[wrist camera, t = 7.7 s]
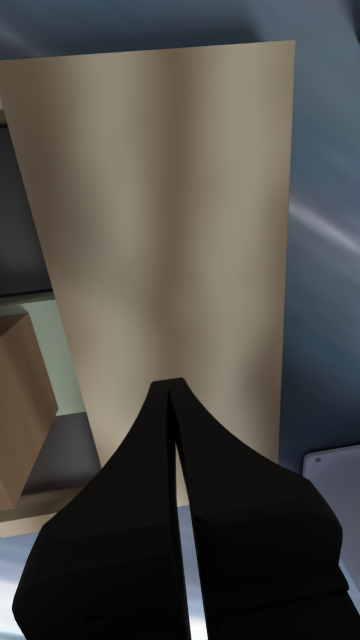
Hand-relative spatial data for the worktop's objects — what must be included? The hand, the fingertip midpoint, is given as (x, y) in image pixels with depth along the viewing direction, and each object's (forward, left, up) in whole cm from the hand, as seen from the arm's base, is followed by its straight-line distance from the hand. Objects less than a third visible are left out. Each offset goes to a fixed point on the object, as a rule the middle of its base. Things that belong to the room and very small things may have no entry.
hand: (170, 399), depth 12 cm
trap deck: (+4, 0, -7) cm, 8 cm away
